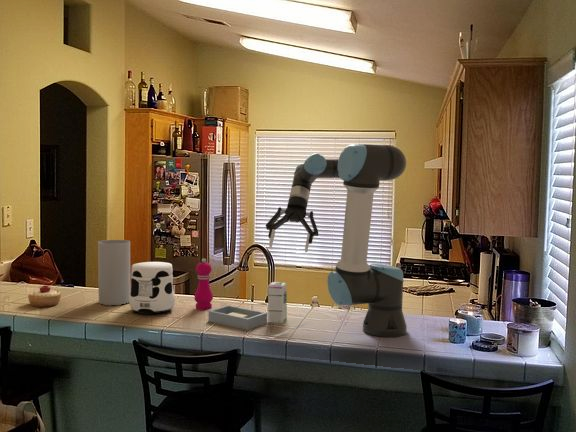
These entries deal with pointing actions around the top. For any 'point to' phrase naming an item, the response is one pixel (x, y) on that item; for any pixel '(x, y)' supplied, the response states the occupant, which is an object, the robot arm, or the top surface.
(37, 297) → the pastry
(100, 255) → the cylinder vase
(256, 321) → the tray
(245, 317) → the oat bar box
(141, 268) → the milk container
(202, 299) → the pepper mill
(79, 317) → the top surface
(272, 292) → the syrup box
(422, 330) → the top surface
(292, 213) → the robot arm
